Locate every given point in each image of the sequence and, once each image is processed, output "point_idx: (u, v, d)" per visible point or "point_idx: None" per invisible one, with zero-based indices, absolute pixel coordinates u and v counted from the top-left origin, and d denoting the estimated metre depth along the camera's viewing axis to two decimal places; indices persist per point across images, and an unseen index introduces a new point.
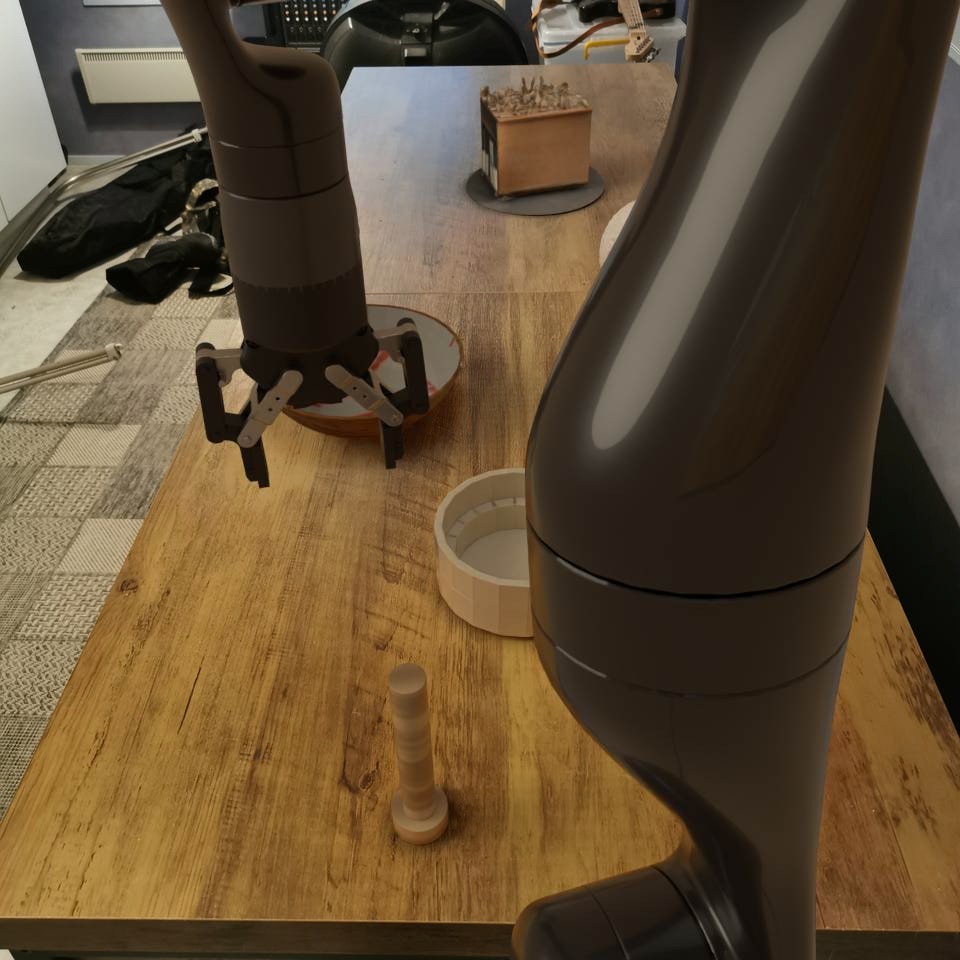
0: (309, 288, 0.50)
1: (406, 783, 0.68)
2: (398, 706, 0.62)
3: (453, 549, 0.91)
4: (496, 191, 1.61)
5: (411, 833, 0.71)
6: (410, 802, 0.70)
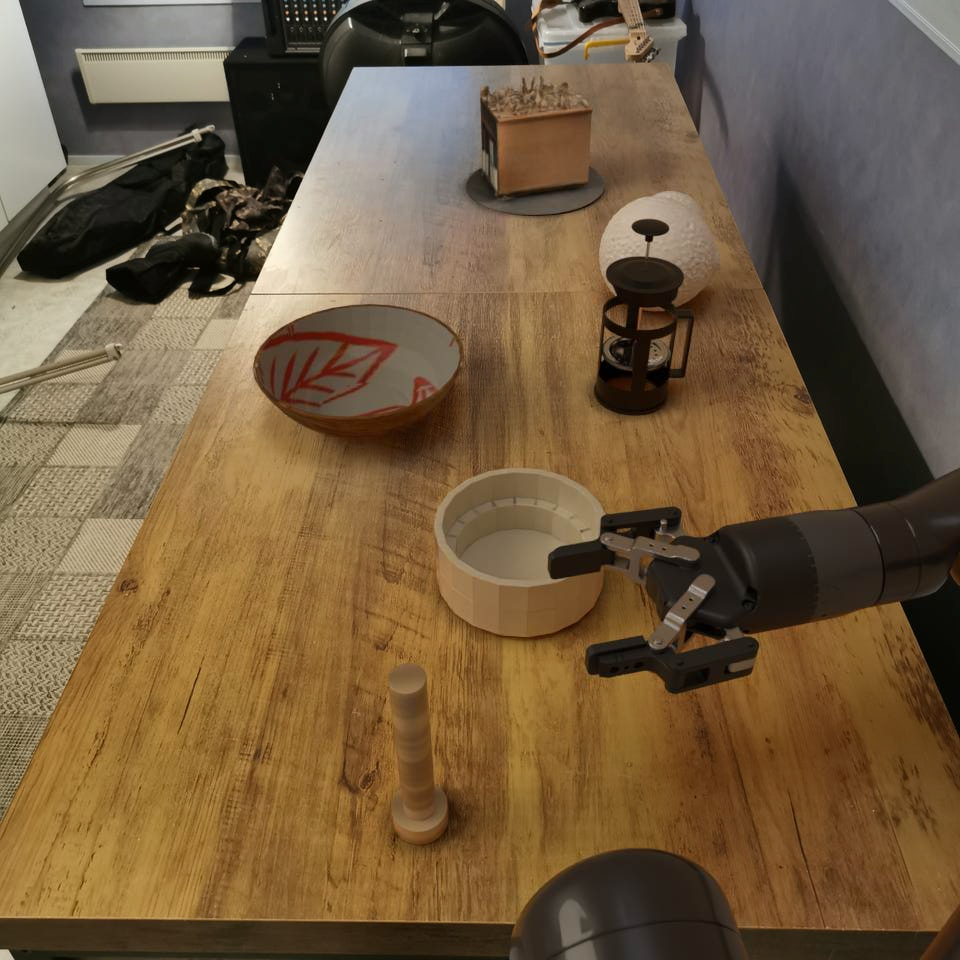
0: None
1: (406, 783, 0.68)
2: (398, 706, 0.62)
3: (453, 549, 0.91)
4: (496, 191, 1.61)
5: (411, 833, 0.71)
6: (410, 802, 0.70)
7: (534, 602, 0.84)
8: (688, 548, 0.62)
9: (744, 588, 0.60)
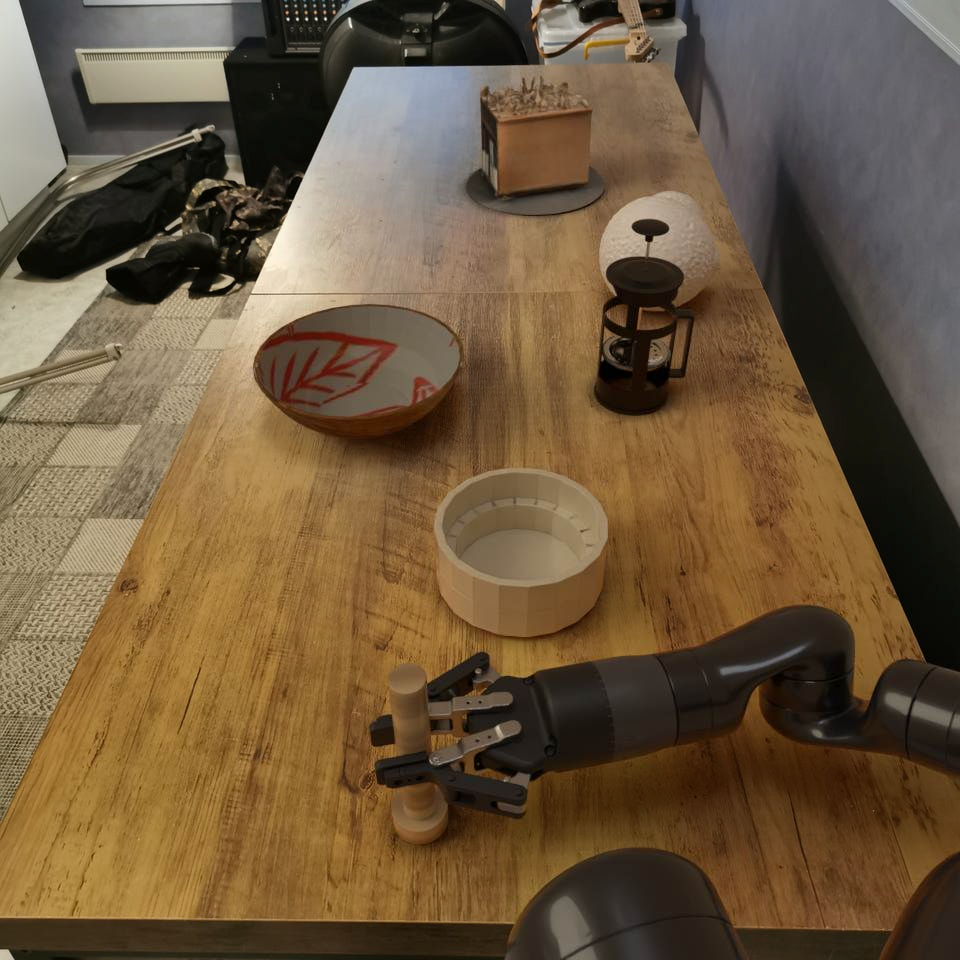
0: None
1: None
2: (398, 706, 0.62)
3: (453, 549, 0.91)
4: (496, 191, 1.61)
5: (411, 833, 0.71)
6: (410, 802, 0.70)
7: (534, 602, 0.84)
8: (504, 692, 0.68)
9: (548, 734, 0.66)
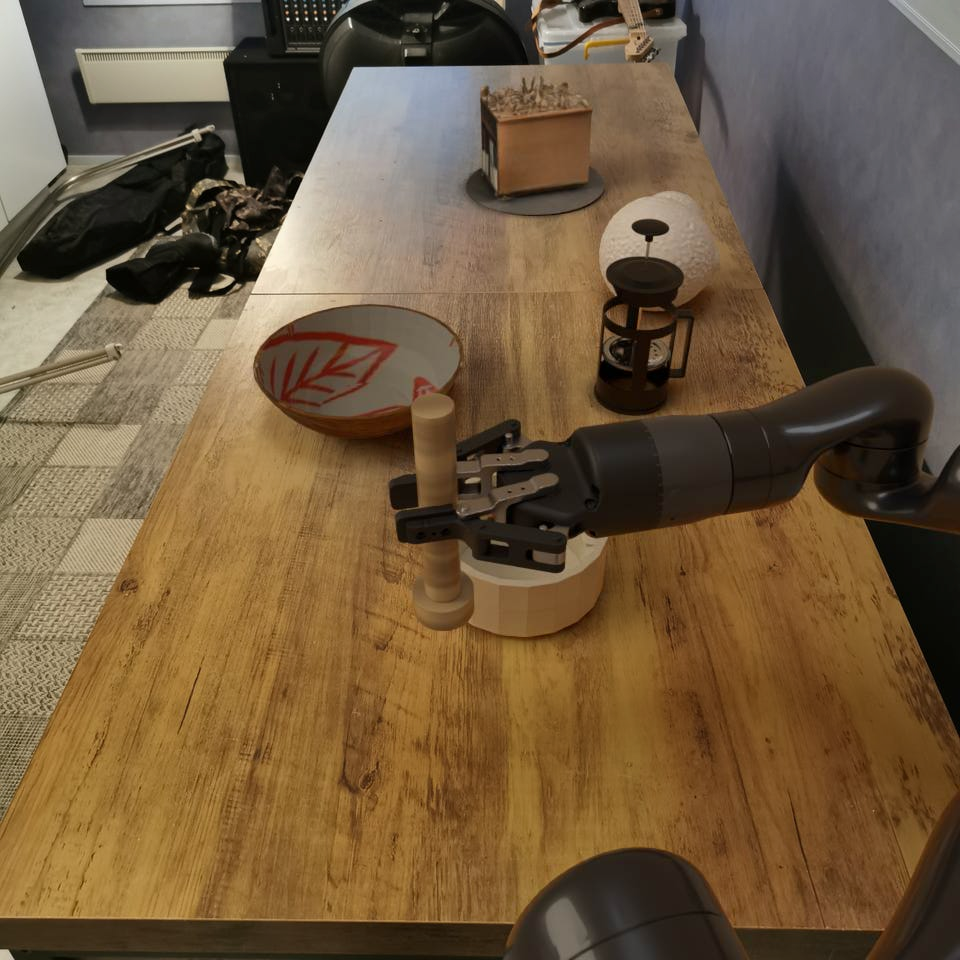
0: None
1: (429, 550, 0.61)
2: (423, 437, 0.55)
3: None
4: (496, 191, 1.61)
5: (434, 615, 0.64)
6: (434, 577, 0.63)
7: (534, 602, 0.84)
8: (538, 449, 0.61)
9: (589, 487, 0.59)
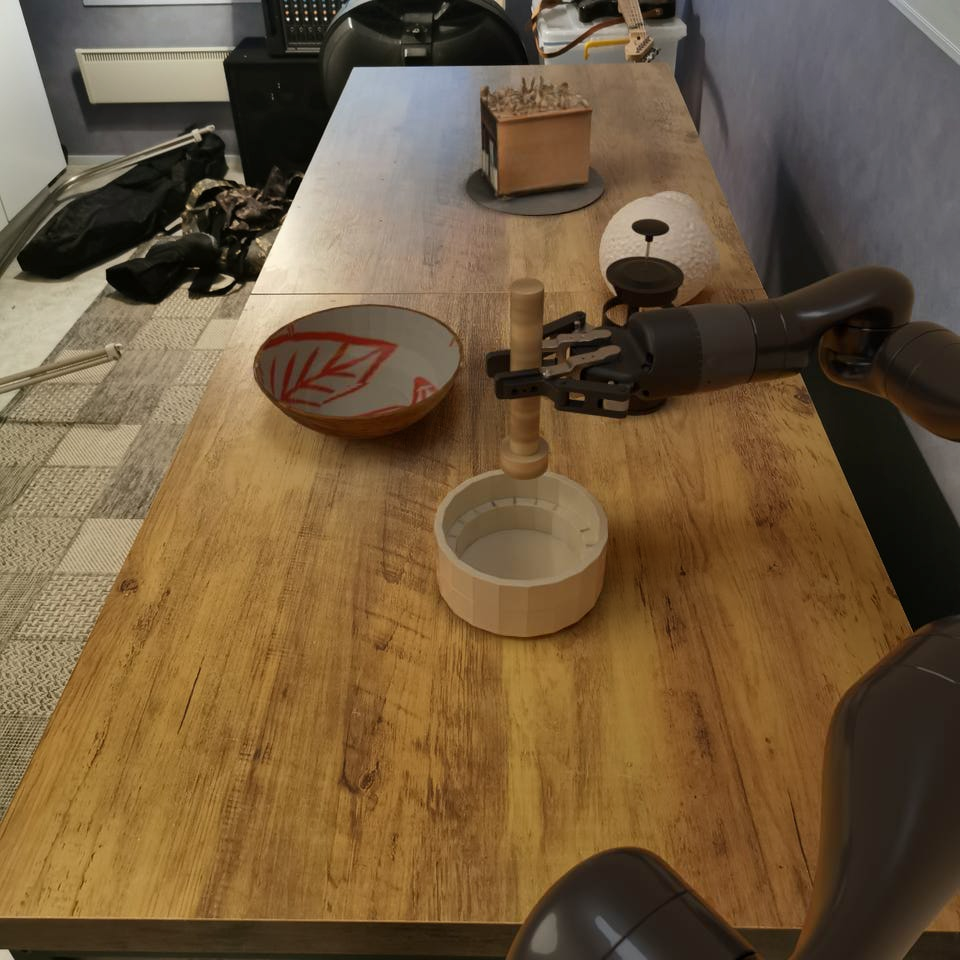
0: None
1: (517, 409, 0.78)
2: (520, 310, 0.72)
3: (453, 549, 0.91)
4: (496, 191, 1.61)
5: (518, 465, 0.81)
6: (519, 433, 0.80)
7: (534, 602, 0.84)
8: (602, 330, 0.78)
9: (644, 356, 0.76)
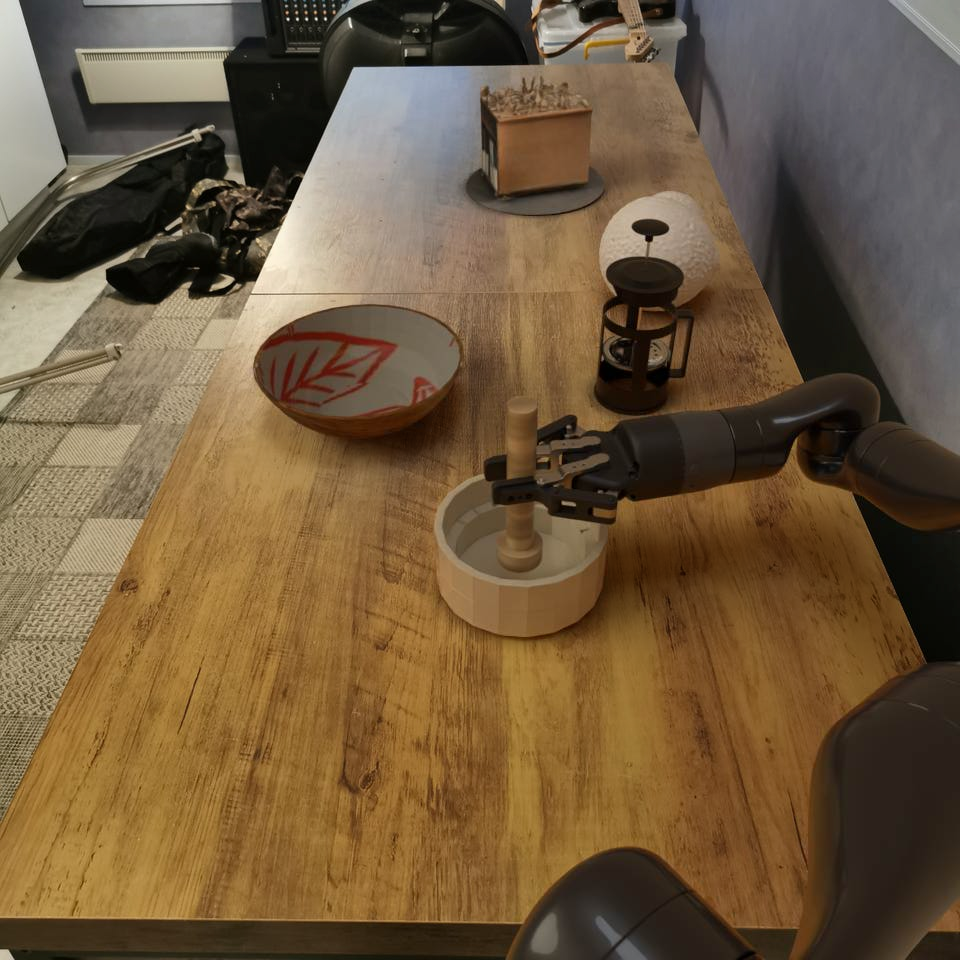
0: None
1: (513, 511, 0.84)
2: (516, 427, 0.77)
3: (453, 549, 0.91)
4: (496, 191, 1.61)
5: (514, 560, 0.86)
6: (515, 531, 0.85)
7: (534, 602, 0.84)
8: (592, 436, 0.84)
9: (631, 463, 0.82)
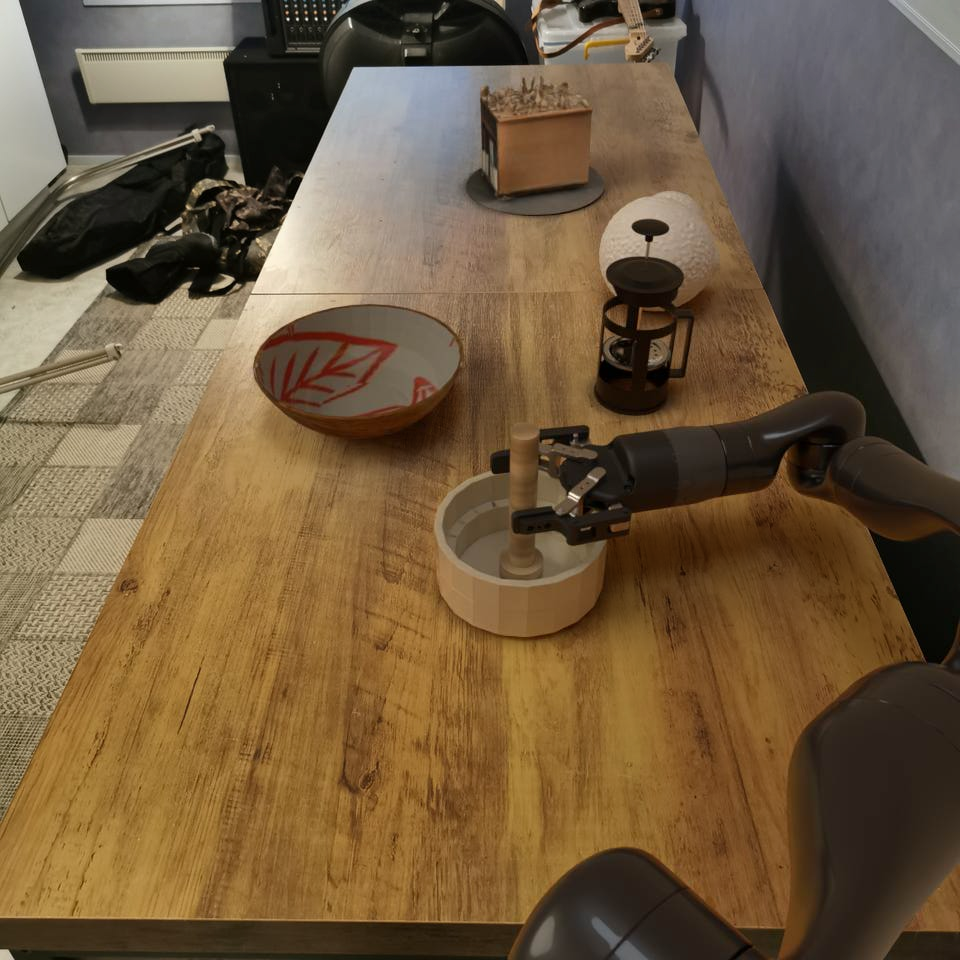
0: None
1: None
2: (518, 452, 0.82)
3: (453, 549, 0.91)
4: (496, 191, 1.61)
5: (516, 577, 0.91)
6: (517, 549, 0.89)
7: (534, 602, 0.84)
8: (590, 451, 0.87)
9: (627, 477, 0.85)
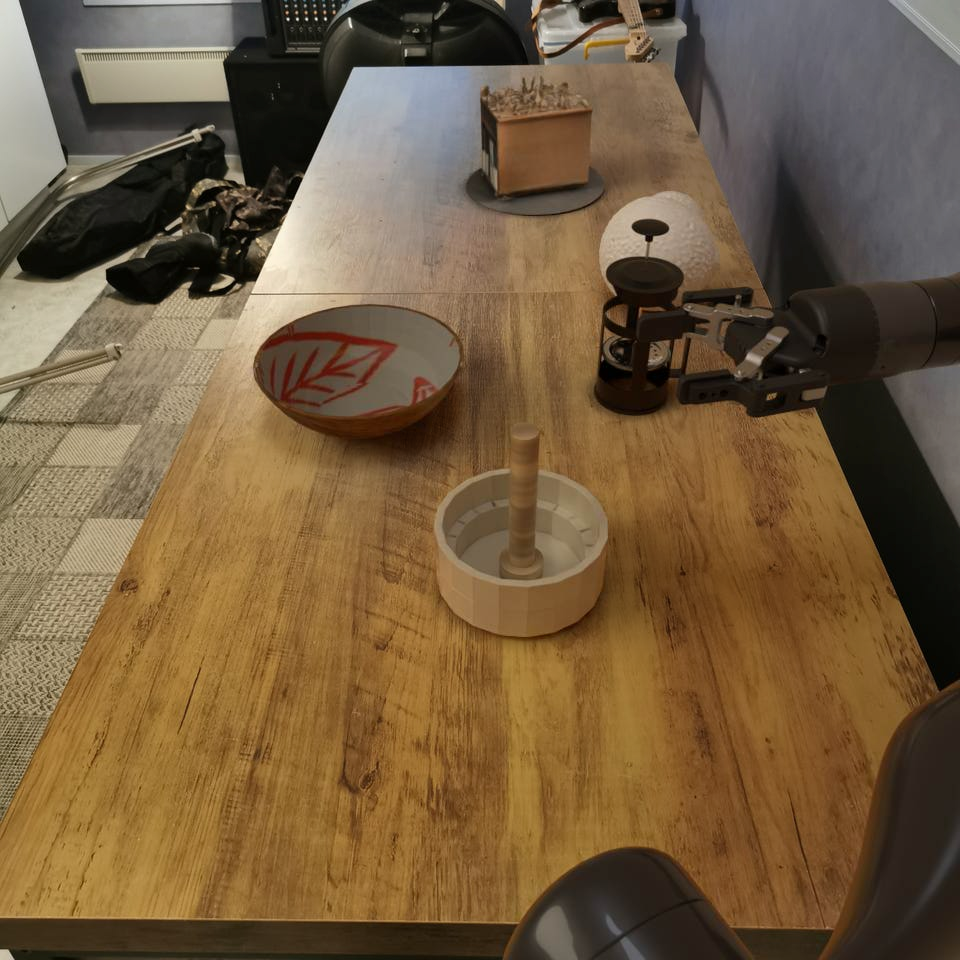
0: None
1: (515, 530, 0.88)
2: (518, 452, 0.82)
3: (453, 549, 0.91)
4: (496, 191, 1.61)
5: (516, 577, 0.91)
6: (517, 549, 0.89)
7: (534, 602, 0.84)
8: (763, 310, 0.71)
9: (814, 338, 0.69)
